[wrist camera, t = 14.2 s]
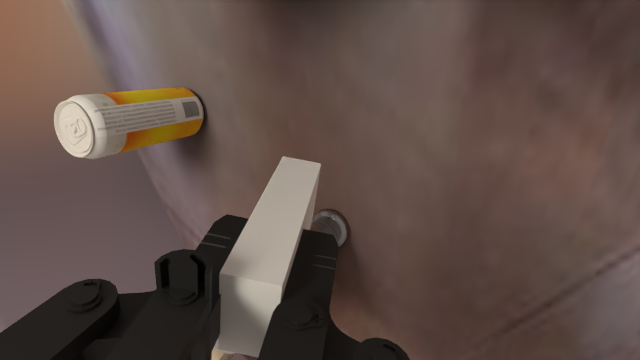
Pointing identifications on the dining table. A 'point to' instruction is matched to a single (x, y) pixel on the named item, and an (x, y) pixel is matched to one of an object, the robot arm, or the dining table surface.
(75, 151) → the orange and white cylinder
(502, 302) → the dining table surface
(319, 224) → the gate post
